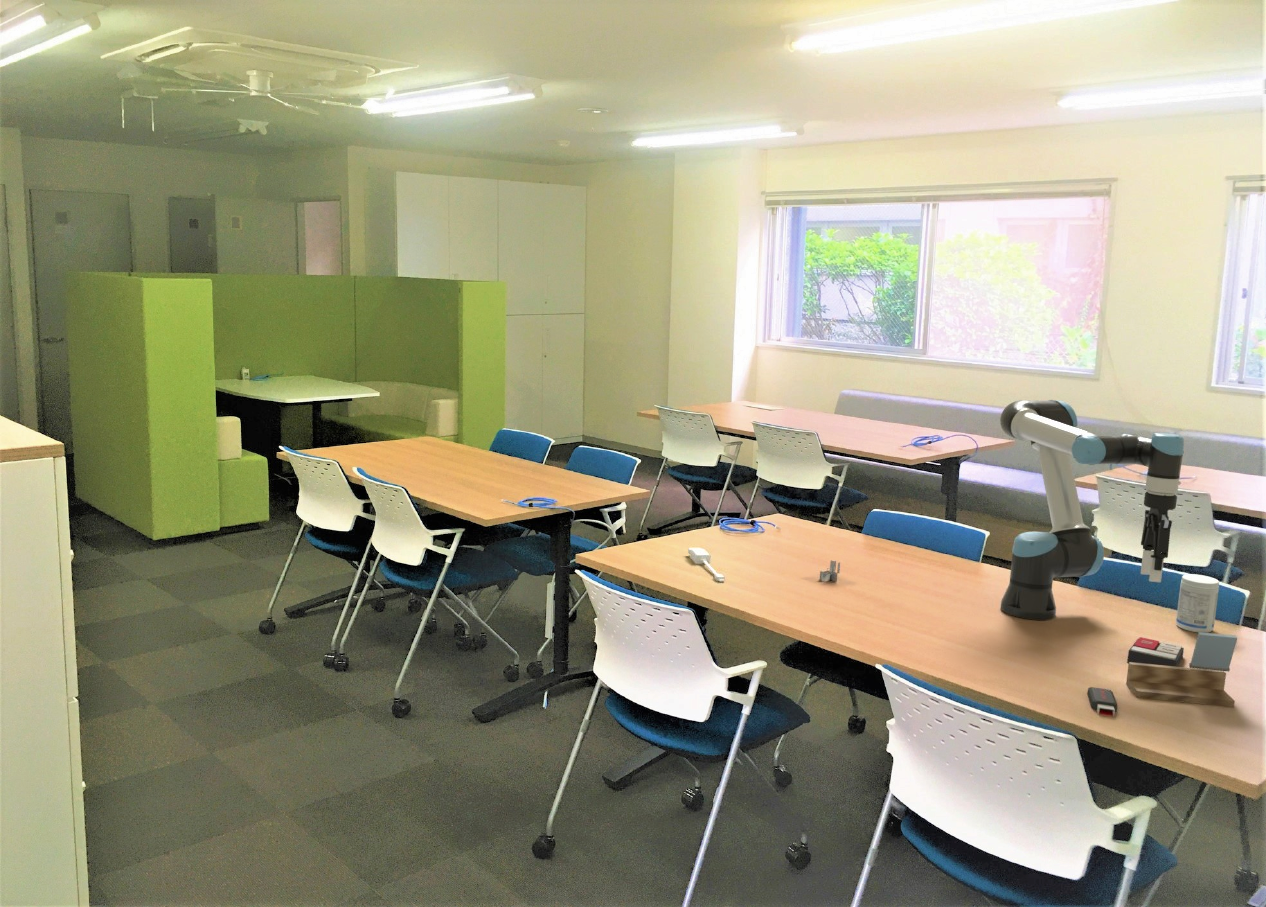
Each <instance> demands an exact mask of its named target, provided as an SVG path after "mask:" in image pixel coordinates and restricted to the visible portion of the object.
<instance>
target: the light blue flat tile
mask: <svg viewBox="0 0 1266 907" xmlns="http://www.w3.org/2000/svg"><path fill="white" fill-rule="evenodd" d="M1197 633H1198V632H1197ZM1237 641H1238V636H1237V635H1232V634H1222V633H1210V632H1208V633H1202V632H1199V633H1198V634H1197V638H1196V642H1195V644H1194V649H1193V652H1192V653H1193V654H1192V655H1191V656H1192V657H1191V661H1190V662H1189V664H1188V666H1189V667H1188V668H1195V669H1206V670H1216V671H1224V672H1230V670H1231V668H1230V665H1231V662H1232V659H1233V655H1234V652H1235V649H1236V644H1237Z"/></svg>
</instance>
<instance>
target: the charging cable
mask: <svg viewBox="0 0 1266 907" xmlns="http://www.w3.org/2000/svg"><path fill="white" fill-rule="evenodd" d="M687 552H688V553H687V554H689V558H690V559H691V560H692V562H693V563H694V564H695V565H705V566H706V567H707V569H708V570H709V571H711V572H712V574H713V577H714V578H713V579H714V580H715V581H716V582H726V580H725V578H726V577H725V576H724V575H723V574H721V573H717V571H716V570H715V569H714V568H713V567H712V566H711V565H710V564H711V555H710V554H709V552H708V551H707V550H705V548H701V547H688V549H687Z"/></svg>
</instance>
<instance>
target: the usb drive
mask: <svg viewBox="0 0 1266 907" xmlns="http://www.w3.org/2000/svg"><path fill="white" fill-rule="evenodd" d="M1086 694H1087V698H1088V701H1089V704H1090V708H1091V709H1093V711H1096V714H1097V715H1100V716H1101V715H1102V716H1108V717H1115V713H1117V711H1118V703H1117V699H1116V697H1115V695H1114V694H1115V693H1114V692H1113V691H1112V690H1111V689H1109V688H1101V687H1100V688H1099V687H1093V686H1090V687H1088V688H1087V693H1086Z"/></svg>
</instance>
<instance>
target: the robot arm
mask: <svg viewBox="0 0 1266 907" xmlns="http://www.w3.org/2000/svg"><path fill="white" fill-rule="evenodd" d="M999 418H1000V419H999V422H1000V426H1001V430H1002V431H1003V432H1004V434H1006V435H1007V436H1009V437H1011V438H1014V439H1016V440H1019V441H1030V444H1031V445H1030V446H1031V448H1032V449H1033V450H1036V451H1037V452H1038V453H1037V454H1038V458H1039V463H1040V468H1041V474H1042V480H1043V485H1044V490H1045V496H1046V500H1047V506H1048V511H1049V515H1050V521H1051V525H1052V528H1051V530H1050V531H1049V532H1046V531H1037V530H1036V531H1027V532H1025V531H1024V532H1022V533H1020V534H1018V535H1017V536H1016V537H1015V538H1014V539H1013V540H1014V541H1013V546H1012V548H1011V549H1012V550H1011V551H1012V555H1011V556H1012V557H1011V563H1010V564H1011V565H1010V575H1009V584H1008V586H1007V588H1006V589H1005V592H1004V594H1003V597H1002V598H1001V602H1000V610H1001V611H1002V612H1004V613H1006V614H1007V615H1010V616H1013V617H1016V618H1022V619H1026V620H1036V621H1040V620H1041V621H1047V620H1052V619H1054V618H1056V613H1057V606H1056V602H1055V598H1054V594H1053V583H1054V582H1053V581H1054V578H1069V577H1070V578H1073V577H1075V578H1081V577H1085V576H1092V575H1094V574H1096V573H1097V572H1098V571H1099V570H1100V568H1101V566H1102V565H1103V562H1104V558H1105V549H1104V546H1103V543H1102V542H1101V540H1100V539H1099V538H1098V537H1096V536H1093V535H1092V532H1091V528H1090V527H1089V526H1088V525H1086V524H1085V523H1084V520H1083V515H1082V510H1081V509H1082V508H1081V505H1080V499H1079V495H1078V490H1077V485H1076V480H1075V475H1074V474H1075V473H1074V471H1073V465H1072V459H1071V456H1072V457H1073V458H1074V459H1075V462H1078V463H1079V464H1081V465H1089V466H1090V465H1091V466H1092V465H1093V466H1094V465H1138V466H1143V467H1147V474H1146V479H1145V480H1146V482H1145V487H1144V488H1145V490H1146V492H1145V493H1144V499H1143V506H1145V507H1147V508H1149V509H1145V510H1144V522H1143V529H1142V534H1141V541H1140V545H1141V546H1142V549H1143V550H1142V558H1141V567H1140V575H1149V577H1148V581H1149V582H1152V583H1161V582H1162V575H1163V570H1164V569H1163V568H1164V561H1165V559H1168V557H1169V547H1170V535H1171V529H1172V524H1173V521H1172V520H1170V518H1169V514H1168V511H1171V510H1172V511H1173V510H1176V507H1177V499H1178V496H1177V494H1178V490H1179V486H1180V485H1181V481H1180V475H1181V467H1182V462H1183V455H1184V447H1185V446H1184V441H1185V439H1184V437H1183V436H1182V435H1179V434H1176V433H1169V432H1168V433H1167V432H1166V433H1165V432H1155V433H1153V434H1152V436H1151V437H1145V436H1141V435H1138V434H1130V433H1123V434H1121V435H1099V434H1095V433H1093V432H1090V431H1087V430H1085V429H1081V428H1078V416H1077V413H1076V411H1075V410H1074V408H1073V407H1072V405H1070V404H1069V403H1067V402H1066V401H1061V400H1055V399H1049V400H1048V399H1047V400H1042V399H1041V400H1035V399H1033V400H1027V399H1020V400H1015V401H1013V402H1011V403H1009V404H1008V405H1006V406H1005V408H1004V409H1003V410H1002V411H1001V414H1000V417H999Z"/></svg>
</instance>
